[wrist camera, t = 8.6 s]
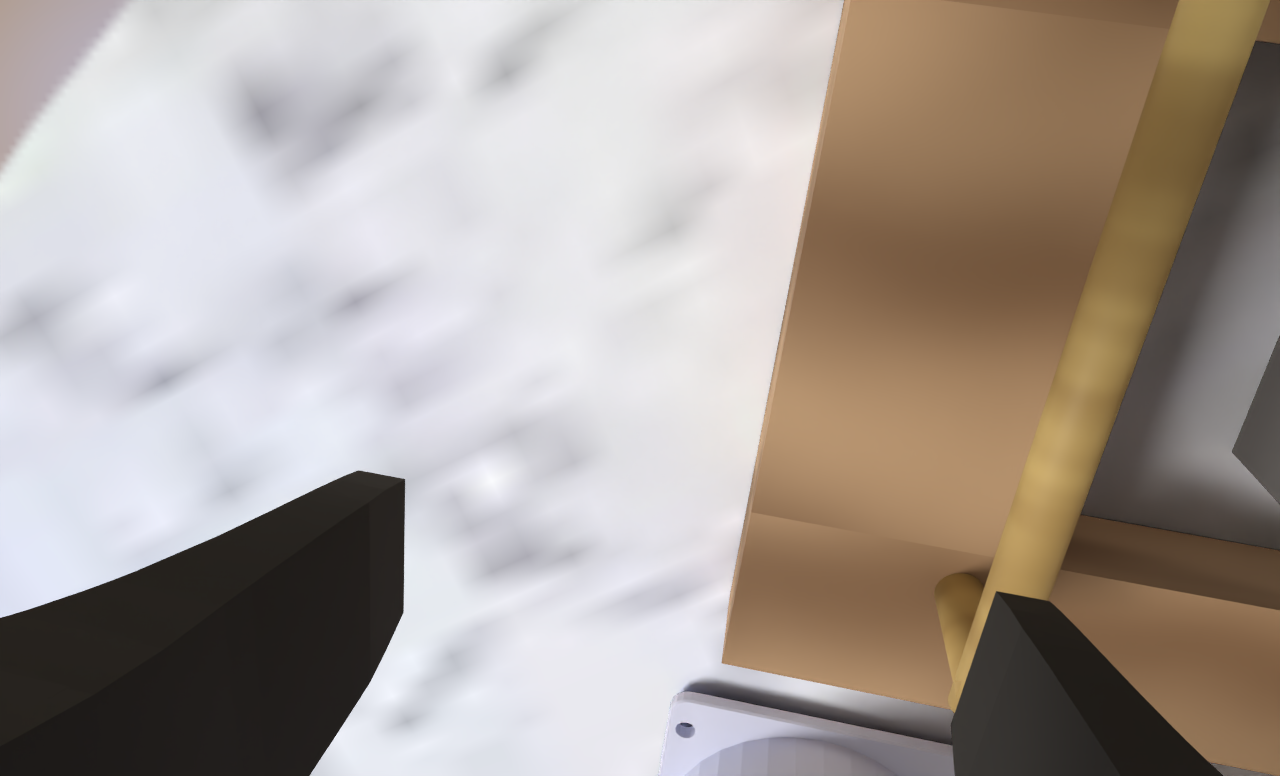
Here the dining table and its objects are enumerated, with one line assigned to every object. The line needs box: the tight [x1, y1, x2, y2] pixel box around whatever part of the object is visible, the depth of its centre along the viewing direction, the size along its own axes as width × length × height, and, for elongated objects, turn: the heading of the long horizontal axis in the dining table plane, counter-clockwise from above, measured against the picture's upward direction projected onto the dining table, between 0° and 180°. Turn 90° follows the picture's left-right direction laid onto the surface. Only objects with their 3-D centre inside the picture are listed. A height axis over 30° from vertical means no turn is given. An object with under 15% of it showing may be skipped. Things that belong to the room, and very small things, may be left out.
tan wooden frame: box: [722, 0, 1280, 776], centre depth 16 cm, size 16×15×6 cm
